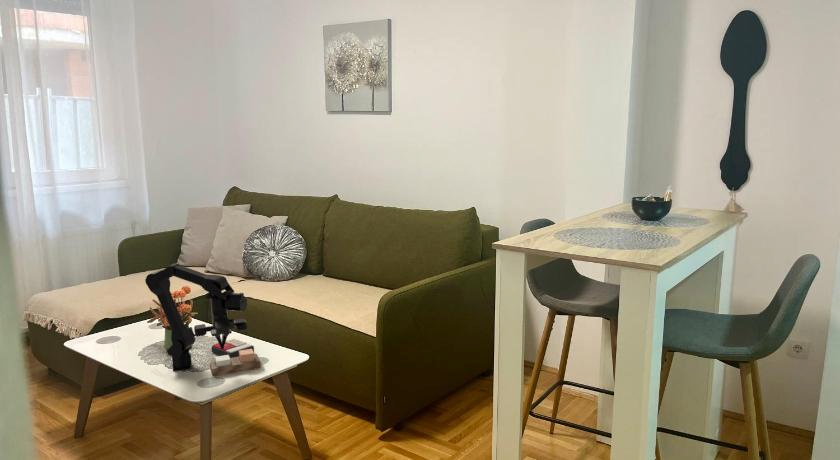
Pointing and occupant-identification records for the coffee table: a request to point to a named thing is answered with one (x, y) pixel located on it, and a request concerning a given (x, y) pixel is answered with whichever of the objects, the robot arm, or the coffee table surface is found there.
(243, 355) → the tan wooden block
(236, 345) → the calculator
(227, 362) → the cream key
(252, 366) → the key panel
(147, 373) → the coffee table surface
